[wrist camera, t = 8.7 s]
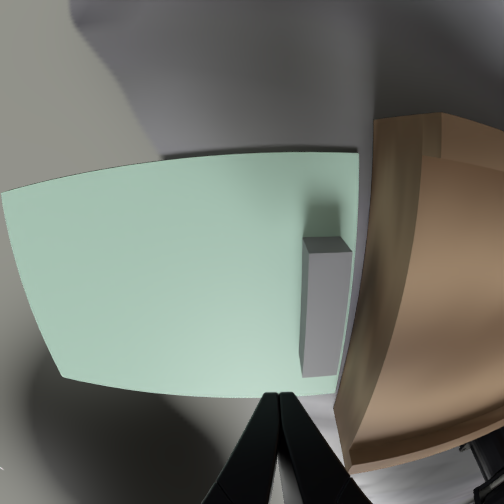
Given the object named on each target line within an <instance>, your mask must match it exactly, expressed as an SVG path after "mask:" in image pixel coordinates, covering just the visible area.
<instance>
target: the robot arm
mask: <svg viewBox="0 0 504 504" xmlns="http://www.w3.org/2000/svg"><path fill="white" fill-rule="evenodd" d="M470 448H471V450H472V453H473V455H474V457H475V459H476V461H477V463H478V466H479V468H480V470H481V473H482V475H483V477H484V480H485V483H483V484H482V485H481V486H478V487H476V488H475V489H474V490H473V491H474V492H473V493H474V500H475V504H504V482H503V483H501V484H500V485H499V486H497V487H496V488H494V489H493V490H491V488H493V487H494V486H496V485H497V484H498V483H500V482H501V481H502V480H504V426H502V427H500V428H498V429H496V430H494V431H492V432H490V433H488V434H486V435H484V436H481V437H479V438H477V439H474V440H472V441H470V442H467V443H465V444H463V445H462V446H461V447H460V448H459V450H460V452H463V451H465V450H468V449H470ZM277 455H278V464H279V471H280V477H281V484H282V491H283V498H284V504H373V503H372V502H371V501H370V500H369V499H368V498H367V497H366V495H365V494H364V493H363V492H362V490H361V489H360V488H359V487H358V485H357V484H356V482H355V481H354V480H353V478H351V477H350V474H349V473H348V472H347V470H346V469H345V467H344V466H343V464H342V463H341V462H340V460H339V459H338V457H337V456H336V454H335V453H334V452H333V450H332V449H331V447H330V446H329V444H328V443H327V441H326V440H325V439H324V437H323V436H322V434H321V433H320V431H319V430H318V428H317V427H316V425H315V424H314V422H313V421H312V419H311V418H310V416H309V415H308V413H307V412H306V410H305V409H304V407H303V406H302V404H301V403H300V401H299V400H298V398H297V397H296V395H295V394H294V393H293V392H280V393H279V394H278V393H277V392H265V393H264V394H263V395H262V397H261V399H260V401H259V403H258V405H257V407H256V409H255V411H254V413H253V415H252V417H251V419H250V420H249V422H248V424H247V426H246V428H245V430H244V432H243V434H242V436H241V438H240V439H239V441H238V443H237V445H236V446H235V448H234V450H233V452H232V453H231V455H230V457H229V459H228V461H227V462H226V464H225V466H224V468H223V469H222V471H221V473H220V474H219V476H218V478H217V480H216V482H215V483H214V484H213V486H212V487H211V489H210V491H209V492H208V494H207V496H206V497H205V498H204V500H203V501H202V503H201V504H270V501H271V496H272V490H273V483H274V477H275V471H276V464H277Z"/></svg>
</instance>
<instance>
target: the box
mask: <svg viewBox="0 0 504 504" xmlns="http://www.w3.org/2000/svg"><path fill="white" fill-rule="evenodd" d="M333 409H334V414H335V419H336V424H337V428H338V433H339V438H340V443H341V448H342V454H343V459H344V464H345V469H346V470H347V472H348V473H349V474H356V473H362V472H368V471H373V470H378V469H382V468H387V467H391V466H396V465H400V464H404V463H407V462H411V461H415V460H418V459H421V458H425V457H428V456H431V455H434V454H437V453H440V452H443V451H446V450H449V449H452V448H454V447H457V446H460V445H462V444H465V443H467V442H470V441H472V440H474V439H477V438H479V437H481V436H484V435H486V434H488V433H490V432H492V431H494V430H496V429H498V428H500V427H502V426H504V131H501V130H499V129H496V128H493V127H490V126H487V125H484V124H481V123H478V122H475V121H472V120H468V119H465V118H461V117H458V116H454V115H451V114H447V113H443V112H437V113H426V114H416V115H407V116H398V117H391V118H383V119H376V120H374V132H373V168H372V186H371V201H370V213H369V223H368V233H367V242H366V250H365V258H364V265H363V272H362V279H361V285H360V292H359V298H358V303H357V309H356V314H355V320H354V325H353V330H352V335H351V340H350V344H349V349H348V353H347V358H346V362H345V366H344V370H343V374H342V378H341V382H340V386H339V390H338V394H337V397H336V401H335V405H334V408H333Z"/></svg>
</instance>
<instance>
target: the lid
mask: <svg viewBox="0 0 504 504" xmlns="http://www.w3.org/2000/svg"><path fill="white" fill-rule="evenodd" d="M358 192H359V153H341V152H272V153H247V154H229V155H215V156H202V157H191V158H181V159H172V160H164V161H162V160H160V161H152V162H146V163H137V164H131V165H124V166H118V167H112V168H106V169H101V170H95V171H89V172H84V173H79V174H74V175H69V176H65V177H60V178H56V179H51V180H47V181H43V182H39V183H34V184H31V185H27V186H23V187H19V188H16V189H12V190H9V191H6V192H2V193H1V198H2V204H3V209H4V215H5V220H6V224H7V229H8V234H9V238H10V242H11V246H12V250H13V254H14V257H15V261H16V264H17V268H18V271H19V274H20V277H21V281H22V284H23V287H24V290H25V293H26V295H27V298H28V301H29V303H30V307H31V309H32V312H33V314H34V317H35V319H36V322H37V324H38V327H39V329H40V331H41V334H42V336H43V338H44V340H45V343H46V344H47V347H48V349H49V351H50V353H51V355H52V357H53V359H54V361H55V363H56V365H57V367H58V369H59V371H60V373H61V375H62V377H65V378H70V379H74V380H78V381H84V382H88V383H94V384H98V385H104V386H110V387H116V388H123V389H129V390H136V391H144V392H152V393H163V394H172V395H185V396H201V397H225V398H261V397H262V395H263V394H264V393H265V392H277V393H278V394H279V393H280V392H293V393H294V394H295V395H296V396H308V395H320V394H331V393H335V391H336V386H337V381H338V376H339V371H340V365H341V360H342V354H343V348H344V342H345V335H346V329H347V322H348V315H349V307H350V299H351V290H352V281H353V271H354V261H355V249H356V235H357V217H358Z"/></svg>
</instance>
